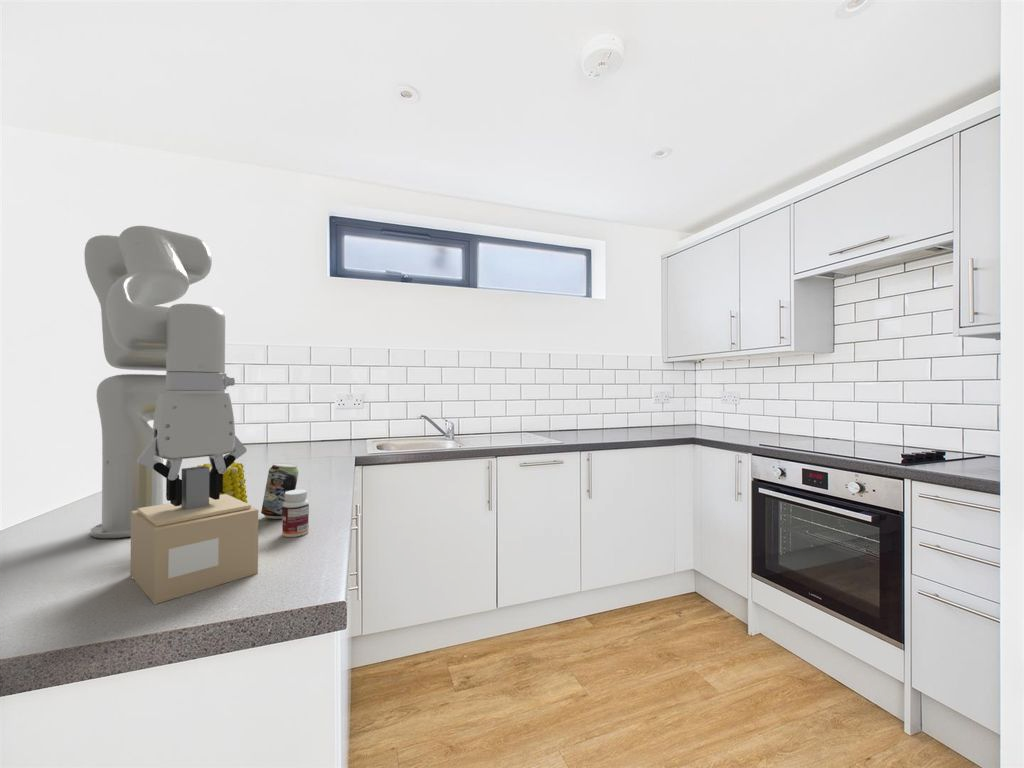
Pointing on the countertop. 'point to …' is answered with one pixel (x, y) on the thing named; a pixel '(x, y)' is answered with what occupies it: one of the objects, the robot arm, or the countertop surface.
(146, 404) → the robot arm
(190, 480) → the flap
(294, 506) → the pill bottle
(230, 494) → the food
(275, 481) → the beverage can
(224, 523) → the carton
